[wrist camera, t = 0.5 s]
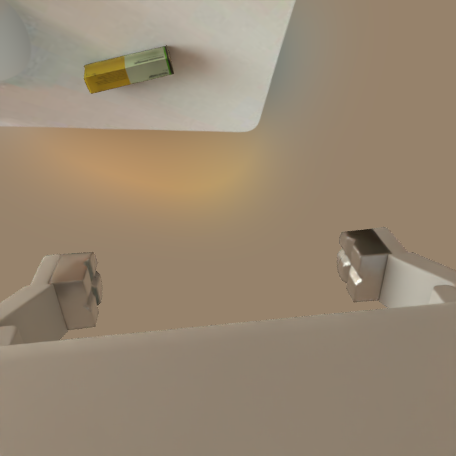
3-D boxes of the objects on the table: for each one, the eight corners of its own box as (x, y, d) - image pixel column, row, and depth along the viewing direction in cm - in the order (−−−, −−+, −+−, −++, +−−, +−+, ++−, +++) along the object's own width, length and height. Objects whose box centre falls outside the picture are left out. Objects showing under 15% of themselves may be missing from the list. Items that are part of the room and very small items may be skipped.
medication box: (167, 43, 59) (170, 56, 57) (171, 61, 61) (175, 75, 59) (83, 64, 59) (82, 78, 56) (90, 81, 61) (90, 96, 58)
